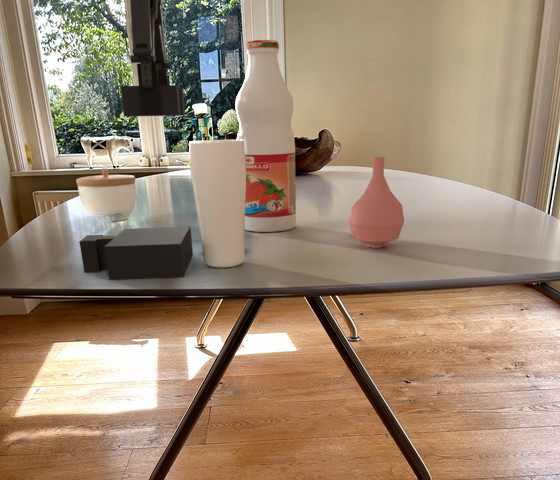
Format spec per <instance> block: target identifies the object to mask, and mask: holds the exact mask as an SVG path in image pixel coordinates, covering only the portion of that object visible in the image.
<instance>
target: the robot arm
mask: <svg viewBox="0 0 560 480" xmlns="http://www.w3.org/2000/svg"><path fill="white" fill-rule="evenodd" d="M162 2H163V0H129V3H130V19H131V20H130V21H131V22H130V23H131V38H132V41H131V42H132V50H131V51H132V52H131V53H132V55H131V54H130V55H129V57H130V63H131V64H136V71H137V72H136V73H137V81H138V86H139V92H140V102H141V112H142V114H161V107H160V96H159V85H169V83H168V72H167V70H171V69H172V65H171V64H172V63H170V62H169V60H168V58H167V49H166V40H165V32H164V23H163V22H164V21H163V18H164V17H163V11H162V10H163V9H162Z"/></svg>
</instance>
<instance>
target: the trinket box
mask: <svg viewBox="0 0 560 480" xmlns="http://www.w3.org/2000/svg"><path fill="white" fill-rule="evenodd" d="M101 173H102V174H101V175H100V174H99V175H90V176H83V177H79V178H76V180H75V182H76V185H77V190H78V196H79V199H80V202H81V204H82V206H83V209H84V211H85V212H86V213H87V215H90V216H91V215H92V216H115V215H119V216H117V217H116V218H114V220H112V221H111V223H116V222H122V221H126V220H128V219H129V218H128V217H129V216H130V215H131V213H132V212H133V211H134V209H135V206H136V201H137V188H136V186H137V185H136V177H135V175H131V174H109V171H108V167H104V168H101Z"/></svg>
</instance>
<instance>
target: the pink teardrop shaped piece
mask: <svg viewBox="0 0 560 480" xmlns="http://www.w3.org/2000/svg"><path fill="white" fill-rule="evenodd" d="M384 174H385V157H384V156H380V157H379V156H378V157H372V176H371V178H370V180H369V182H368V184H367V186H366V188H365V191H364V192H362V193H361V195H360V196H359V197H358V199H357V200H356V201H355V202H354V203H353V204H352V206H351V210H350V215H349V220H348V224H349V228H350V232H351V235H352V238H353V239H354V240H355V241H359V242H361V243H363V244H366V245H367V248H371V247H372V248H373V249H379V248H384V247H385V245H386V244H388V243H391V242H393V241H395V240H398V239H399V238H400V235H401V232H402V229H403V226H404V223H405V218H404V217H405V216H404V208H403V204H402V203H401V202H400V201H399V199H398V198H397V197H396V196H395V194H394V193H393V192H392V190H391V188H390V186H389V184H388V181H387V180H386V178H385V175H384ZM372 248H371V249H372Z"/></svg>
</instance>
